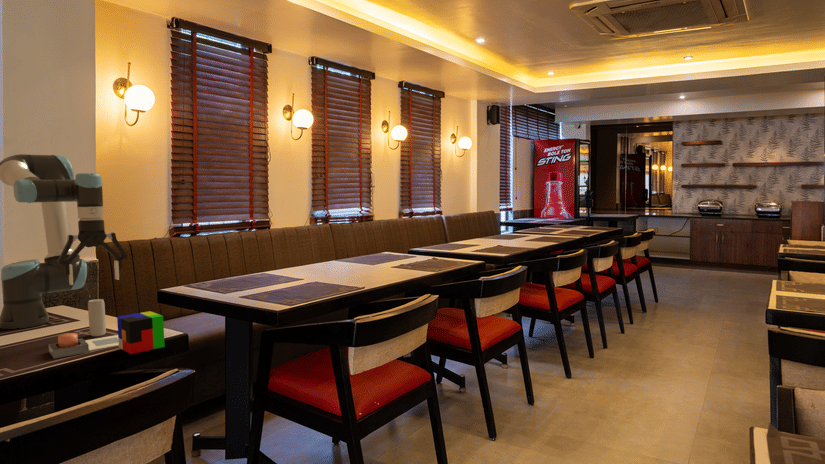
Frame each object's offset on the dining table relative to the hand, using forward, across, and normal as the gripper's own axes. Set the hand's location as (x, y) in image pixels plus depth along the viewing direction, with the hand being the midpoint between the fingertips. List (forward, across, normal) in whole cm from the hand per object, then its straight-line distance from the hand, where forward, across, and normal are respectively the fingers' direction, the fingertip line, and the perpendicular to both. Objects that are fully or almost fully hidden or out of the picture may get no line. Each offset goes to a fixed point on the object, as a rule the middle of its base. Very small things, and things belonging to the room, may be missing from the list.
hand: (94, 281), depth 181 cm
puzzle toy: (+19, +7, -26) cm, 33 cm away
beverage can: (+19, 0, 0) cm, 19 cm away
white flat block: (+18, 0, -12) cm, 22 cm away
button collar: (+18, -11, -16) cm, 27 cm away
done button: (+17, -11, -16) cm, 25 cm away
